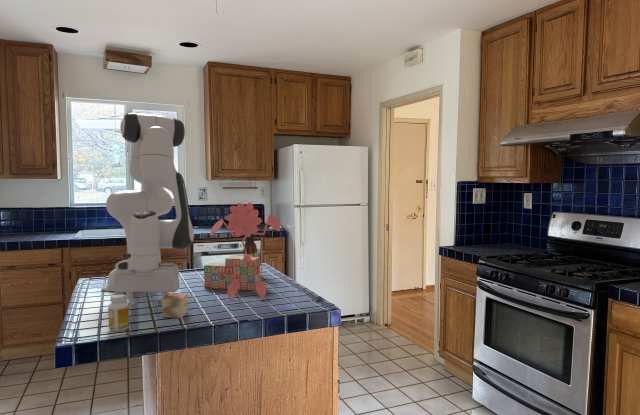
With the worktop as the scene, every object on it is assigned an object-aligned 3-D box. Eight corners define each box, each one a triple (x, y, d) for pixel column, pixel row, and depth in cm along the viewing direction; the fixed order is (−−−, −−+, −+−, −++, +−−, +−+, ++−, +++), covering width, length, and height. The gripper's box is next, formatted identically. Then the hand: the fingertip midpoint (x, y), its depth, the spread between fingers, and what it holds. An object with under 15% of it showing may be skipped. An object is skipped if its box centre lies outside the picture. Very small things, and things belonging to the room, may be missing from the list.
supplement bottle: (131, 325, 133) (130, 293, 133) (126, 331, 128) (125, 297, 127) (112, 326, 133) (111, 293, 132) (106, 332, 127) (104, 298, 127)
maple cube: (162, 316, 140) (162, 298, 139) (169, 311, 146) (169, 293, 145) (181, 318, 140) (181, 299, 139) (187, 312, 146) (188, 294, 145)
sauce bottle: (254, 273, 204) (254, 230, 202) (260, 276, 199) (260, 231, 197) (241, 275, 200) (240, 231, 199) (247, 277, 195) (246, 232, 194)
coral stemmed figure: (215, 294, 168) (213, 201, 165) (283, 295, 166) (282, 201, 163) (202, 306, 153) (198, 204, 150) (276, 308, 151) (275, 204, 148)
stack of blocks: (204, 288, 178) (203, 257, 177) (210, 284, 184) (210, 255, 183) (255, 290, 174) (254, 259, 173) (260, 286, 180) (259, 256, 179)
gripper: (181, 260, 145) (183, 302, 146) (119, 260, 145) (121, 302, 146) (174, 264, 138) (176, 308, 139) (109, 264, 139) (111, 308, 140)
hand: (147, 305), depth 143 cm, fingers open, 8 cm apart
